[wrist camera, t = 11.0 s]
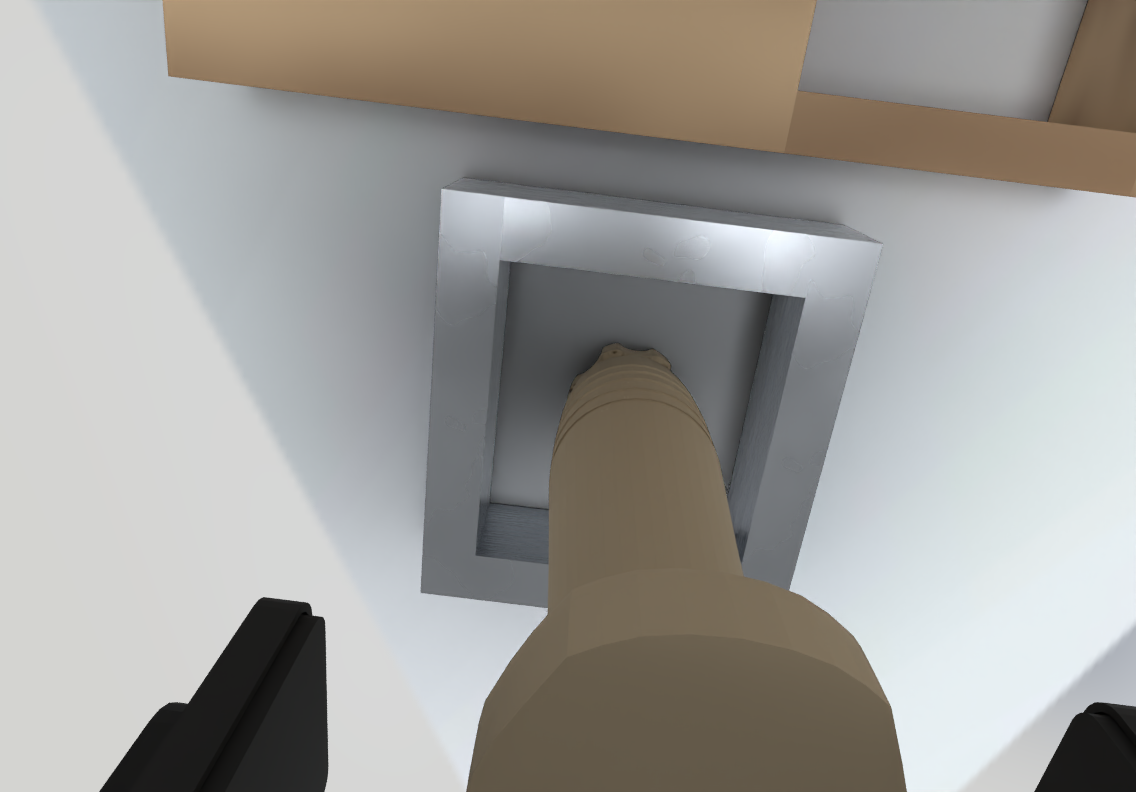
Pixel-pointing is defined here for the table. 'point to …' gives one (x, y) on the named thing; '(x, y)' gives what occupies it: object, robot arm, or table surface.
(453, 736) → the table surface
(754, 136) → the wooden box
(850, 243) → the collar
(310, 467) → the table surface
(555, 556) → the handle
